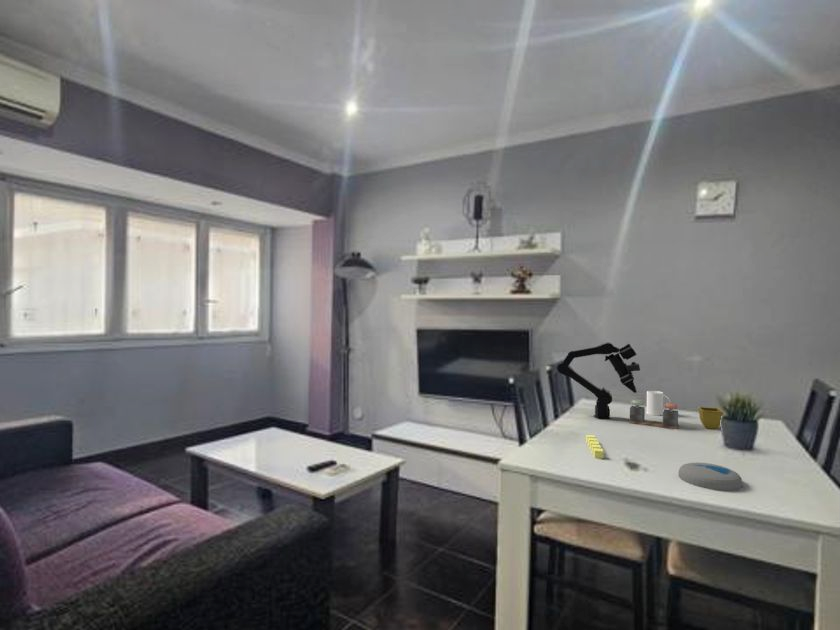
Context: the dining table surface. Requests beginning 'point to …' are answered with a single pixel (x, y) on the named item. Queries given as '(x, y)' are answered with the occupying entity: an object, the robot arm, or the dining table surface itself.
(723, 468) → the decorative stone
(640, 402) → the sage button
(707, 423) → the flower pot
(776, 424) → the dining table surface
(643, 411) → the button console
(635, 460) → the dining table surface
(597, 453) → the yellow ridged bar
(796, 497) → the dining table surface
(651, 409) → the mug
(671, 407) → the red button
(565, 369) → the robot arm
